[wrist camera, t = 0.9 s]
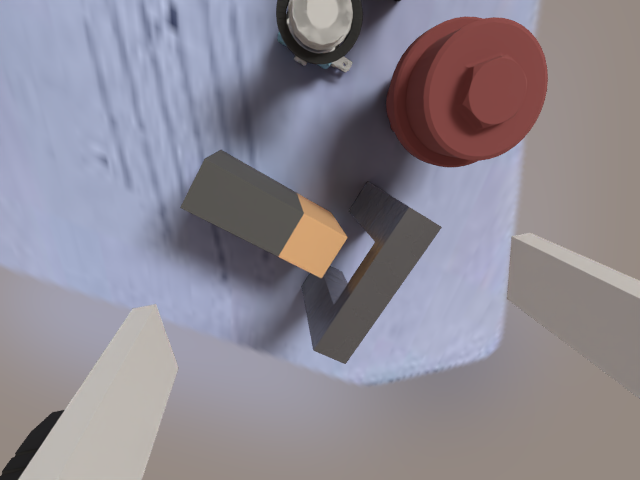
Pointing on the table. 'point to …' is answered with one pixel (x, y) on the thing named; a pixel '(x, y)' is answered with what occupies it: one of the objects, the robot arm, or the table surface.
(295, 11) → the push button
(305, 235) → the grey and orange block
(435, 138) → the mechanical component
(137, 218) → the table surface
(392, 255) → the grey piece
